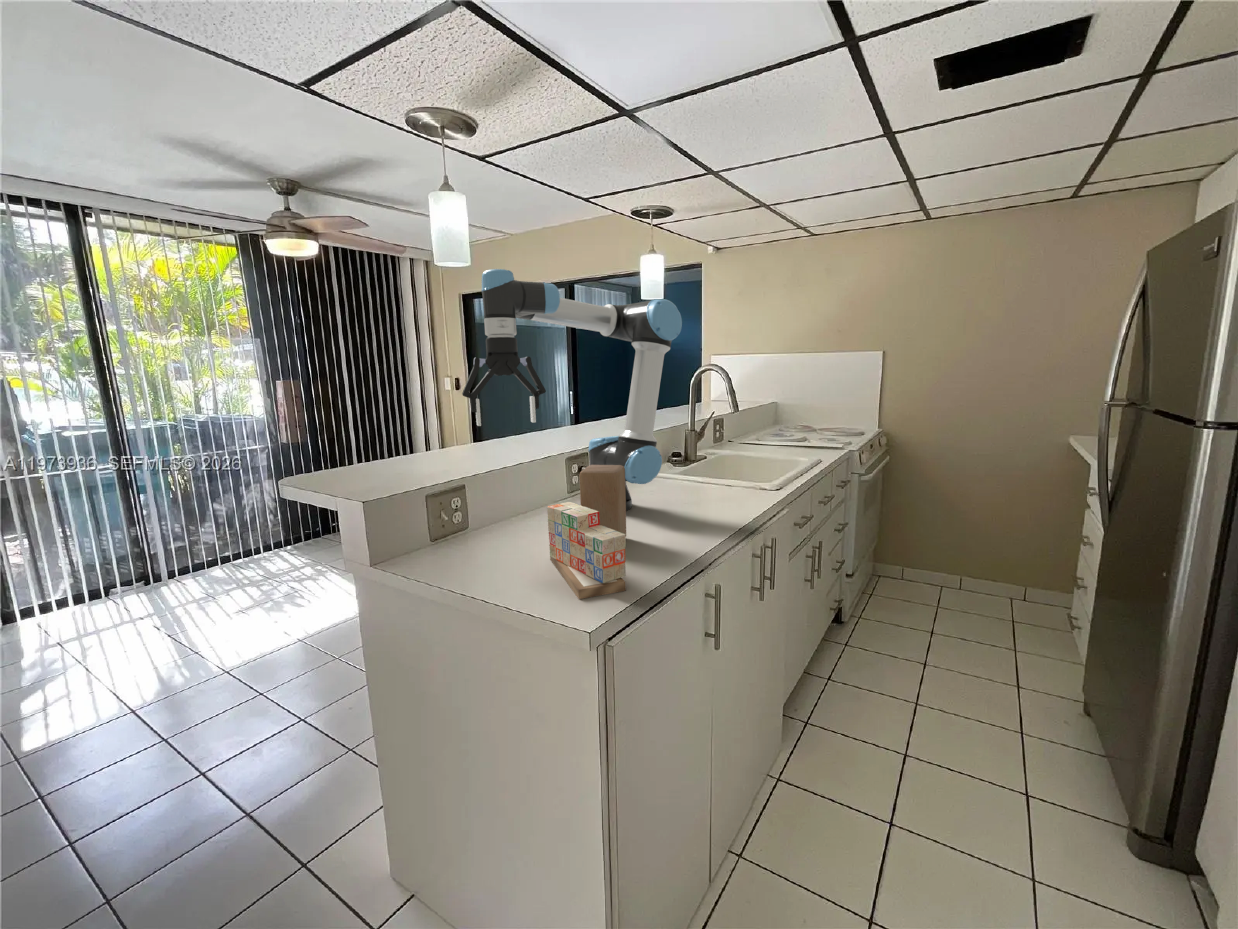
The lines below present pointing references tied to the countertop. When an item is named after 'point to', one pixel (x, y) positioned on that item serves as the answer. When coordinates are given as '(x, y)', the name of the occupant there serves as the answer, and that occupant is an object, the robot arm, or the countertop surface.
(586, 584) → the picture frame
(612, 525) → the block
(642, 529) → the countertop surface
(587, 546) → the stack of blocks
